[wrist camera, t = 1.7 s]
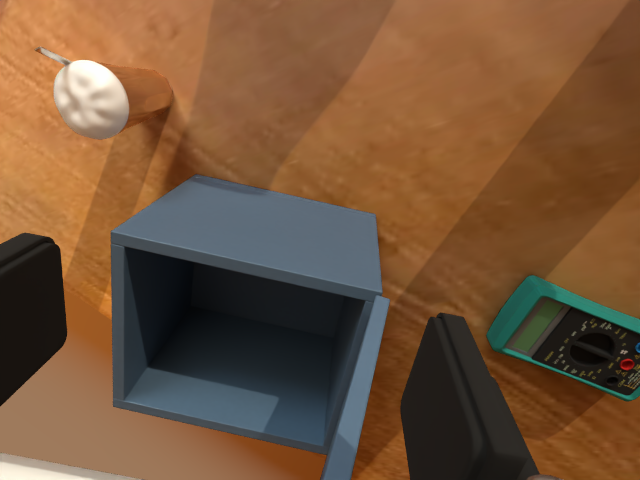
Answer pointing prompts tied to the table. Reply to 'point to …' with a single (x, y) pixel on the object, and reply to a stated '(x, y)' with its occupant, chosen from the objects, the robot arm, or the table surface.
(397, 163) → the table surface
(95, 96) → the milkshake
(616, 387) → the digital multimeter
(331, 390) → the case
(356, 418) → the case lid
